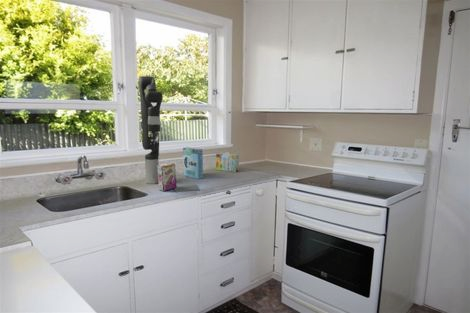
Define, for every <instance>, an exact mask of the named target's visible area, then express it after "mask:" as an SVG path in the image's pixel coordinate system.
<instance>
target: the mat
mask: <svg viewBox="0 0 470 313" xmlns="http://www.w3.org/2000/svg"><path fill="white" fill-rule="evenodd" d="M173 189H174V192H175V193H176V192H177V193H179V192H197V191H198V192H199V191H201V189H200V188H199V186H198V184H184V185H183V184H180V185H179V184H177V185H176V188H173Z"/></svg>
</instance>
